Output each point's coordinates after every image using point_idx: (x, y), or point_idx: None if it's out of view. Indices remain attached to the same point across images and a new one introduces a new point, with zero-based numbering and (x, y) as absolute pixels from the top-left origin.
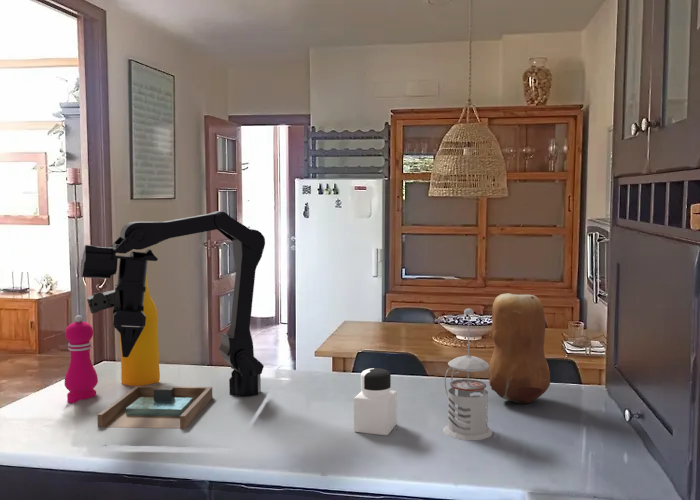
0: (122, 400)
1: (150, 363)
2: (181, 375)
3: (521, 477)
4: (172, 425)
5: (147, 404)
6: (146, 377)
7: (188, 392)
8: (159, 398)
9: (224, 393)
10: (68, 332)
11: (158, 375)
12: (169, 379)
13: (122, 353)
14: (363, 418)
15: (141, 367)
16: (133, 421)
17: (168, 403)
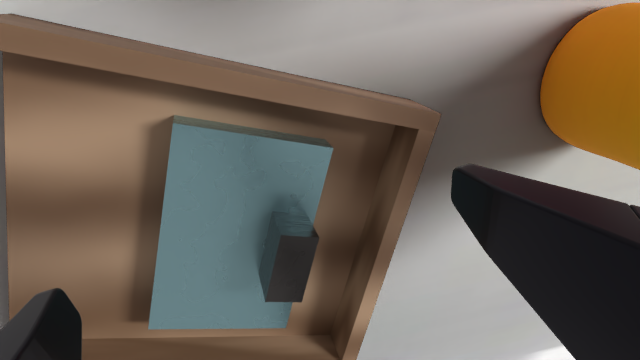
0: (248, 95)
1: (624, 152)
2: (623, 192)
3: None
4: None
5: (224, 199)
6: (569, 120)
7: (352, 299)
8: (268, 237)
9: (406, 344)
10: None
11: (591, 152)
12: (601, 164)
13: (11, 321)
14: None
15: (610, 114)
16: (88, 162)
17: (228, 270)
